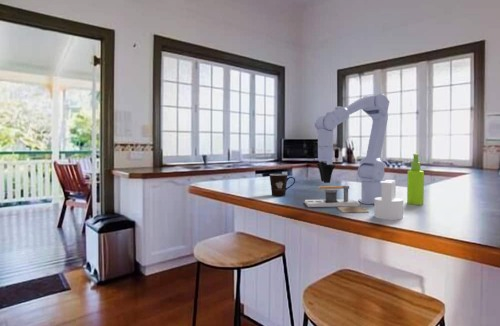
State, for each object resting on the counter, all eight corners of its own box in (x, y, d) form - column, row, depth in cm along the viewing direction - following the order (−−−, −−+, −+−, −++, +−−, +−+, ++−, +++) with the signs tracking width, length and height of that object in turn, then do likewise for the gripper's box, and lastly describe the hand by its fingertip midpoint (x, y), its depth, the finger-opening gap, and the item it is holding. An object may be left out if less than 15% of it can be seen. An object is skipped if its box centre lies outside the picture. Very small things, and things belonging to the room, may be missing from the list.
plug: (335, 203, 139) (335, 189, 138) (338, 205, 134) (338, 190, 133) (323, 203, 139) (323, 189, 138) (326, 205, 134) (326, 191, 133)
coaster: (360, 207, 129) (360, 206, 129) (368, 212, 120) (368, 211, 120) (336, 208, 129) (336, 207, 129) (343, 213, 120) (343, 211, 120)
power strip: (352, 202, 141) (352, 187, 140) (359, 206, 132) (359, 190, 131) (304, 202, 141) (304, 188, 140) (308, 206, 132) (308, 191, 131)
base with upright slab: (401, 221, 107) (401, 183, 106) (371, 217, 112) (371, 182, 111) (404, 215, 115) (405, 180, 114) (377, 212, 119) (377, 179, 119)
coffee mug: (267, 196, 159) (266, 175, 158) (272, 193, 167) (272, 173, 166) (291, 197, 154) (290, 175, 154) (295, 194, 162) (295, 174, 162)
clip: (348, 188, 137) (348, 185, 137) (350, 188, 134) (350, 186, 134) (318, 188, 137) (318, 186, 137) (319, 189, 135) (319, 186, 135)
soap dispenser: (422, 202, 138) (423, 153, 137) (423, 205, 132) (424, 154, 130) (407, 201, 140) (407, 153, 139) (407, 204, 134) (407, 154, 133)
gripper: (311, 146, 136) (311, 180, 137) (318, 147, 122) (318, 184, 122) (329, 146, 136) (329, 179, 137) (338, 147, 122) (338, 184, 122)
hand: (325, 182), depth 130 cm, fingers open, 4 cm apart
